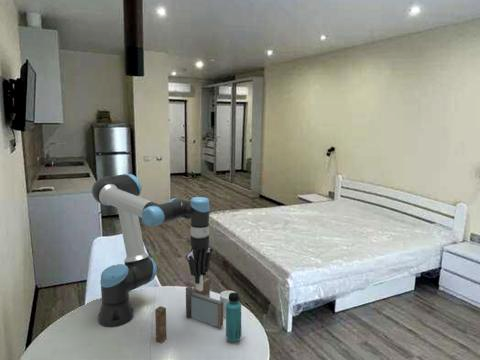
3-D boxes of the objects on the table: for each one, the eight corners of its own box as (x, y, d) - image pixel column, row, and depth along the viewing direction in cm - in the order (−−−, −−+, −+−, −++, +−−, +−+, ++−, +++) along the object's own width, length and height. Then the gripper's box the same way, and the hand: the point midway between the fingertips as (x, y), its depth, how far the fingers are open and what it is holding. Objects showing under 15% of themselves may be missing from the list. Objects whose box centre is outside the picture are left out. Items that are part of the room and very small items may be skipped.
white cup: (234, 320, 155) (234, 299, 153) (217, 318, 156) (217, 297, 155) (238, 311, 163) (238, 291, 161) (222, 309, 164) (222, 289, 163)
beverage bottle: (235, 346, 136) (236, 300, 133) (222, 341, 140) (222, 295, 137) (244, 338, 142) (245, 293, 139) (231, 333, 145) (231, 289, 142)
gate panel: (190, 317, 155) (190, 293, 153) (194, 314, 157) (194, 291, 155) (220, 327, 147) (220, 303, 145) (223, 325, 149) (223, 300, 147)
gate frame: (156, 341, 139) (155, 309, 137) (205, 299, 173) (205, 273, 171) (161, 343, 137) (161, 311, 135) (210, 301, 171) (210, 274, 169)
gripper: (193, 241, 131) (193, 298, 135) (217, 233, 141) (217, 287, 145) (181, 236, 136) (181, 292, 140) (205, 230, 146) (204, 281, 150)
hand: (199, 289), depth 142 cm, fingers closed
